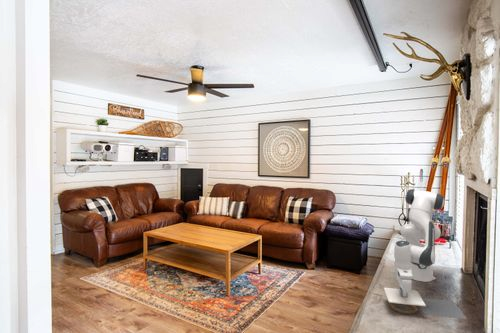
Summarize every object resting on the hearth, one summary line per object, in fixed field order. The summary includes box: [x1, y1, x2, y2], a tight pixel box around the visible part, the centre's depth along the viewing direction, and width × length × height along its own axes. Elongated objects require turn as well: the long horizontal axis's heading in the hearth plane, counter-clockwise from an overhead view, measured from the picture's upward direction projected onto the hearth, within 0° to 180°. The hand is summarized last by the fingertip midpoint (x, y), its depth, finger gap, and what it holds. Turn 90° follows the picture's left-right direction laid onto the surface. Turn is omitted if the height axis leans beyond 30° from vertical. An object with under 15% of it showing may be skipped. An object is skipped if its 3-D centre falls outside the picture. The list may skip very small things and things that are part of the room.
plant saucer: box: [388, 301, 419, 315], centre depth 166 cm, size 15×15×3 cm
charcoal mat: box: [420, 297, 468, 320], centre depth 166 cm, size 20×20×1 cm
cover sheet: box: [383, 286, 426, 307], centre depth 166 cm, size 18×18×5 cm
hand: (403, 293), depth 166 cm, fingers closed on cover sheet, 3 cm apart
